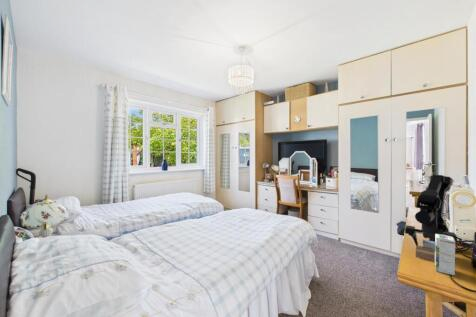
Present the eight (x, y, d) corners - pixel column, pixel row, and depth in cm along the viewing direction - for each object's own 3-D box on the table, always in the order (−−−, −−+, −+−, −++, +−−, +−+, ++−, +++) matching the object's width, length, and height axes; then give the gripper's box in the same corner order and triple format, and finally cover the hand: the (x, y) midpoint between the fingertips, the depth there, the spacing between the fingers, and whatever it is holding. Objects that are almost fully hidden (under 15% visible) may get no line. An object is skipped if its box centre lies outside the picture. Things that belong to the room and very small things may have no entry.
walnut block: (416, 252, 105) (416, 245, 104) (435, 256, 100) (435, 249, 100) (415, 257, 99) (415, 250, 99) (435, 262, 95) (435, 255, 95)
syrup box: (434, 265, 92) (434, 233, 92) (453, 269, 88) (453, 236, 88) (435, 271, 88) (435, 237, 87) (456, 276, 84) (455, 240, 83)
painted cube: (422, 249, 107) (422, 239, 107) (436, 251, 104) (436, 242, 104) (422, 252, 103) (422, 243, 103) (436, 255, 100) (436, 245, 100)
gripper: (404, 220, 103) (404, 250, 104) (458, 228, 91) (459, 263, 91) (405, 214, 111) (405, 243, 112) (455, 221, 99) (455, 253, 100)
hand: (429, 250), depth 103 cm, fingers open, 9 cm apart
